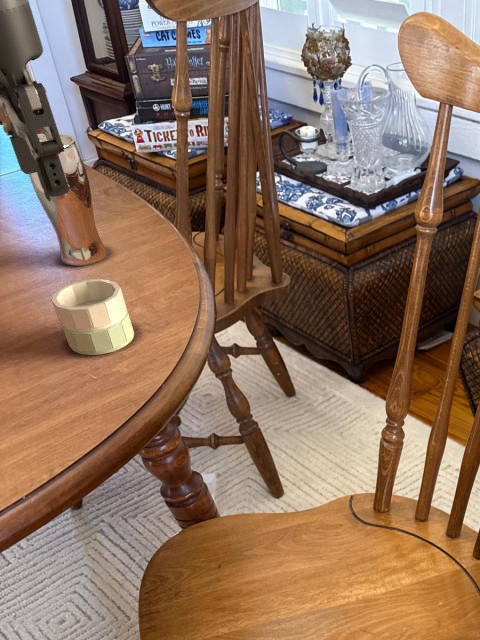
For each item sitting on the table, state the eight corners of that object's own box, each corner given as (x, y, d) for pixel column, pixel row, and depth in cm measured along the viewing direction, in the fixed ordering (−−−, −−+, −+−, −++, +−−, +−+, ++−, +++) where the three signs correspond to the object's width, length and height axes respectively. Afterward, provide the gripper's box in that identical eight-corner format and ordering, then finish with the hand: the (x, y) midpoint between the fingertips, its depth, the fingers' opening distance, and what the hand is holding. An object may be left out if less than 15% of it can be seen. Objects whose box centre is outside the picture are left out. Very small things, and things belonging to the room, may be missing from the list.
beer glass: (119, 255, 109) (86, 140, 99) (74, 272, 106) (35, 154, 95) (94, 242, 113) (60, 130, 102) (49, 257, 109) (9, 143, 99)
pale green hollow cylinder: (94, 361, 88) (86, 339, 86) (57, 342, 92) (49, 320, 90) (147, 335, 92) (140, 313, 90) (109, 317, 96) (103, 296, 94)
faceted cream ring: (70, 338, 87) (62, 315, 85) (53, 313, 91) (45, 290, 89) (135, 319, 89) (128, 296, 87) (115, 295, 94) (108, 273, 92)
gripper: (50, 6, 69) (103, 193, 80) (3, -16, 77) (58, 157, 89) (-39, 19, 66) (30, 212, 77) (-77, -5, 74) (-10, 172, 85)
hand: (45, 182), depth 83 cm, fingers open, 8 cm apart
